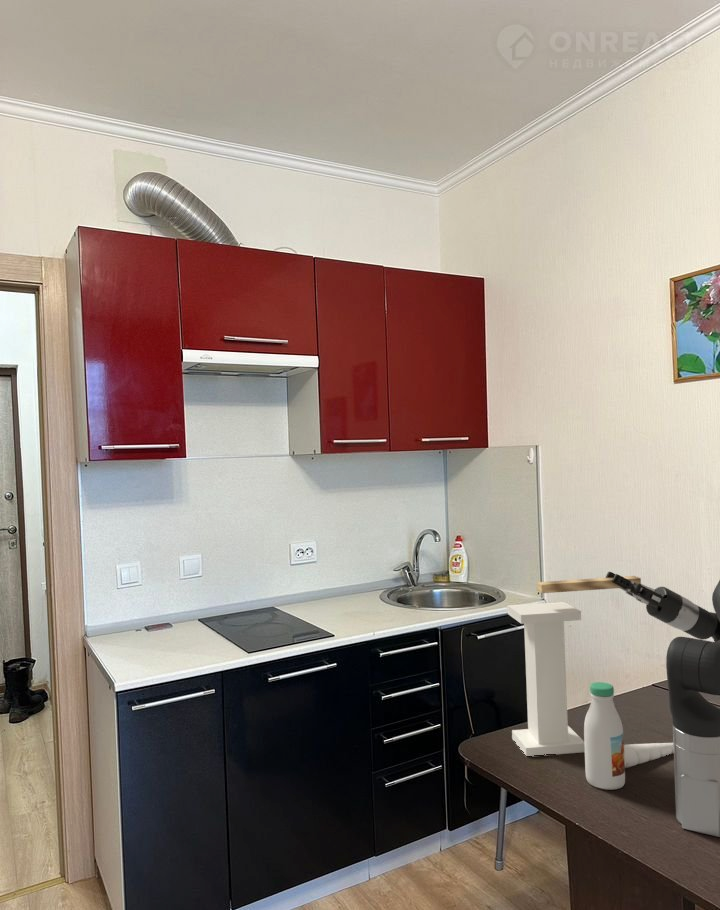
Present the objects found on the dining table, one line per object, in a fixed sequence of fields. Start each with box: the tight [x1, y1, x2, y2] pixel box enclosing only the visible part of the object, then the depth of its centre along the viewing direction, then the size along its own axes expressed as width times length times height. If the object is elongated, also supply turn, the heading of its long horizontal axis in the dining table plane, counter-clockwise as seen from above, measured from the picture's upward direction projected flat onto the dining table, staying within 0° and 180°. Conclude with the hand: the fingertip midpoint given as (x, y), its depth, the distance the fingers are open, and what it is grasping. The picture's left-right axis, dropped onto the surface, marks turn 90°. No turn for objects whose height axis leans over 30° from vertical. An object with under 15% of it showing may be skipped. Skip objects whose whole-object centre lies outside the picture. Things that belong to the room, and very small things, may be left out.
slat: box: [536, 575, 642, 594], centre depth 161 cm, size 24×3×2 cm, turn 96°
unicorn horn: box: [624, 742, 674, 769], centre depth 152 cm, size 5×24×5 cm, turn 109°
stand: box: [506, 601, 585, 757], centre depth 160 cm, size 14×10×32 cm
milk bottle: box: [583, 681, 626, 791], centre depth 142 cm, size 8×8×20 cm
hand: (611, 576), depth 161 cm, fingers closed on slat, 3 cm apart
